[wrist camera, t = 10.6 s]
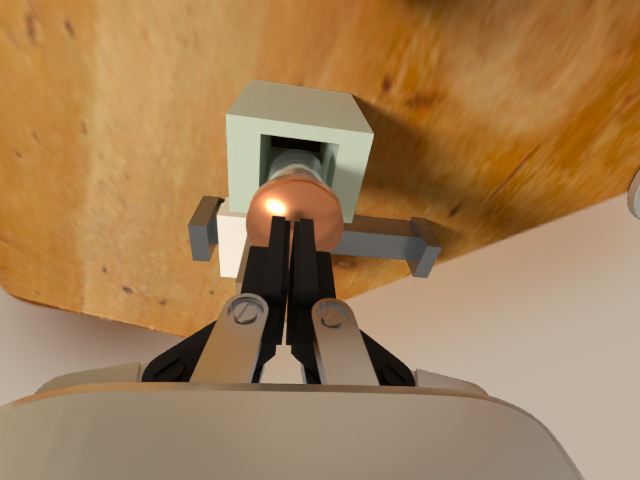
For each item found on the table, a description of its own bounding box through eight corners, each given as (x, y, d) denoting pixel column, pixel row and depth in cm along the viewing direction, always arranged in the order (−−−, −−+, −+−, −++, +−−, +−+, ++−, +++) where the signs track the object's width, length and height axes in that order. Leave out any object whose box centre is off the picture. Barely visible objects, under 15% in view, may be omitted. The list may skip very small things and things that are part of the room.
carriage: (312, 200, 29) (315, 272, 21) (303, 256, 33) (304, 333, 25) (226, 192, 28) (196, 263, 20) (228, 250, 32) (205, 329, 24)
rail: (425, 218, 33) (442, 247, 29) (412, 247, 35) (427, 277, 31) (203, 195, 30) (188, 224, 26) (206, 229, 32) (193, 260, 28)
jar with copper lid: (339, 144, 17) (353, 190, 13) (327, 210, 20) (334, 268, 15) (260, 133, 16) (245, 178, 12) (258, 203, 19) (245, 261, 15)
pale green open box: (351, 93, 25) (374, 134, 17) (337, 163, 28) (351, 223, 20) (251, 78, 24) (225, 113, 16) (250, 152, 27) (229, 211, 19)
